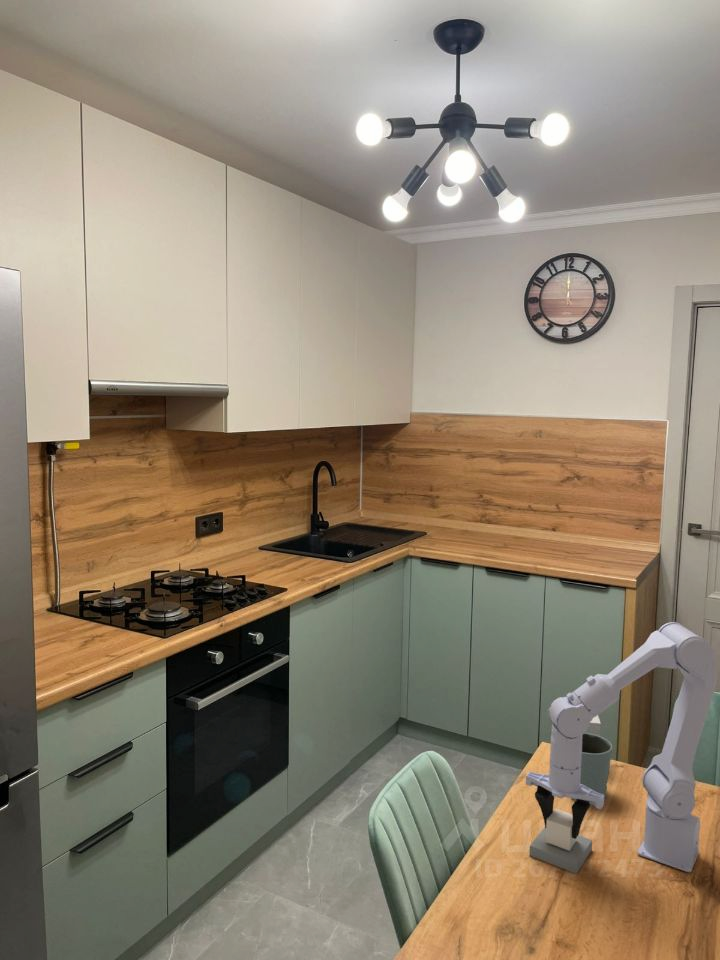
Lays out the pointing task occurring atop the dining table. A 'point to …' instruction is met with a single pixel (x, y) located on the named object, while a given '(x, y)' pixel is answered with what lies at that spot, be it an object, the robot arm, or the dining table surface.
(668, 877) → the dining table surface
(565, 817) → the cream colored cube
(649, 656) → the robot arm
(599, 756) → the teal cup
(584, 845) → the stud block
